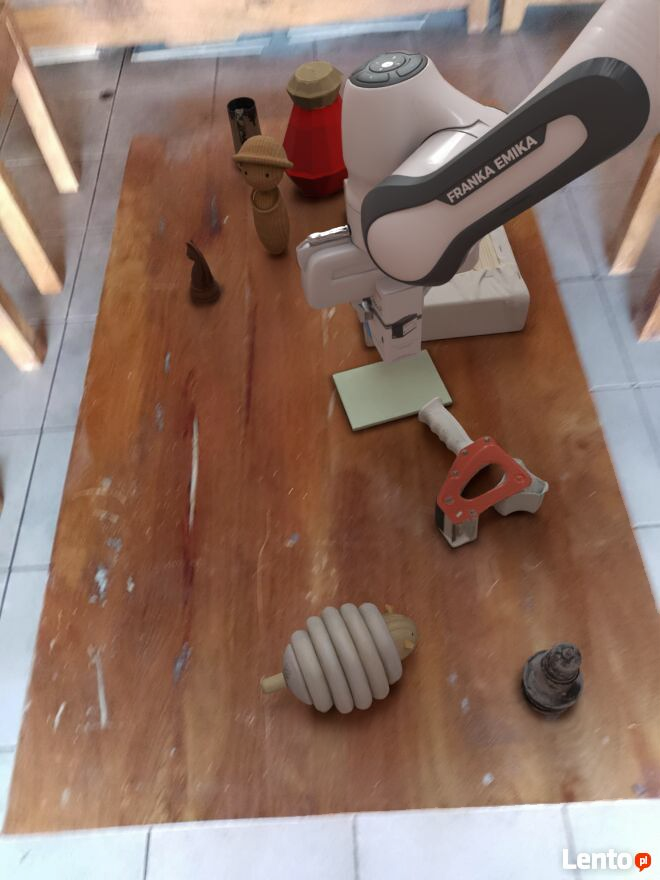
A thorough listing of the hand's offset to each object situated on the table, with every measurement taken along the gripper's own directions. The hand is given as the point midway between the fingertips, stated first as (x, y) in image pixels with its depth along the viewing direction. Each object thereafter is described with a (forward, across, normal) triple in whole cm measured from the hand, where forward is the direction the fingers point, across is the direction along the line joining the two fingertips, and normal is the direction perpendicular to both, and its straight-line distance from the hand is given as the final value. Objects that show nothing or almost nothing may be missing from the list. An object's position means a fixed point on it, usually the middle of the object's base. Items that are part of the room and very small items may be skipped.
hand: (390, 310), depth 86 cm
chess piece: (+16, -21, +28) cm, 38 cm away
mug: (+16, -7, +59) cm, 62 cm away
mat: (+15, 0, 0) cm, 15 cm away
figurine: (+16, -8, +34) cm, 38 cm away
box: (+16, +13, +22) cm, 30 cm away
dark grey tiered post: (+16, +2, -43) cm, 46 cm away
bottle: (+16, +4, +49) cm, 52 cm away
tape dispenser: (+16, +5, -17) cm, 23 cm away
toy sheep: (+16, -17, -35) cm, 42 cm away
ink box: (+5, 0, 0) cm, 5 cm away
